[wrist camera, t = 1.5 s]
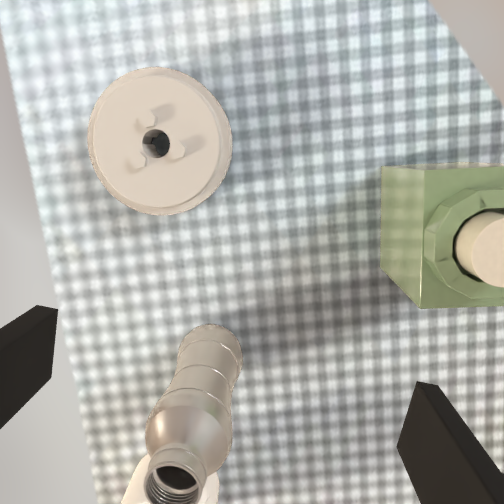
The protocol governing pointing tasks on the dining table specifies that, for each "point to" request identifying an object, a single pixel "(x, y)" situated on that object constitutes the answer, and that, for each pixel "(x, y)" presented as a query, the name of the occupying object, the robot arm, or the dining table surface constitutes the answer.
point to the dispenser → (436, 229)
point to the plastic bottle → (193, 417)
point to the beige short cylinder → (483, 247)
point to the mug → (134, 495)
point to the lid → (151, 125)
